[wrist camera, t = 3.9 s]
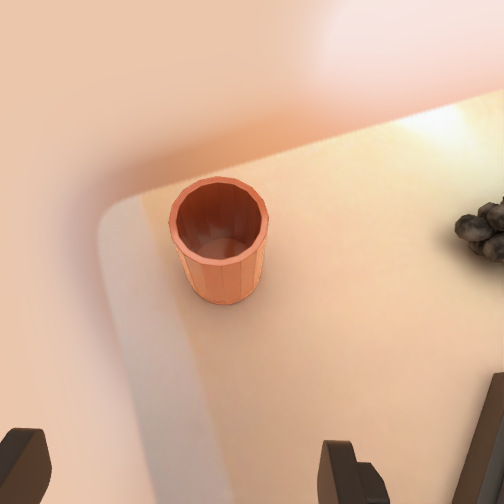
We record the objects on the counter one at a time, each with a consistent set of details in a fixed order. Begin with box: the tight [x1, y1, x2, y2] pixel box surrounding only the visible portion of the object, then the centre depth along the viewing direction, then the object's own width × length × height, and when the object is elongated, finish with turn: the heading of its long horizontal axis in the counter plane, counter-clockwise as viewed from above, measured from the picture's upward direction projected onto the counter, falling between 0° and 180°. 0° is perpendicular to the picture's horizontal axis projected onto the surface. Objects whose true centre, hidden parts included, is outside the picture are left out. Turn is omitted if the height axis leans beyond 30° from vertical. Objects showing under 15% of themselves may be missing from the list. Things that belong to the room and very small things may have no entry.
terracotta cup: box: [169, 177, 269, 305], centre depth 25 cm, size 5×5×8 cm
